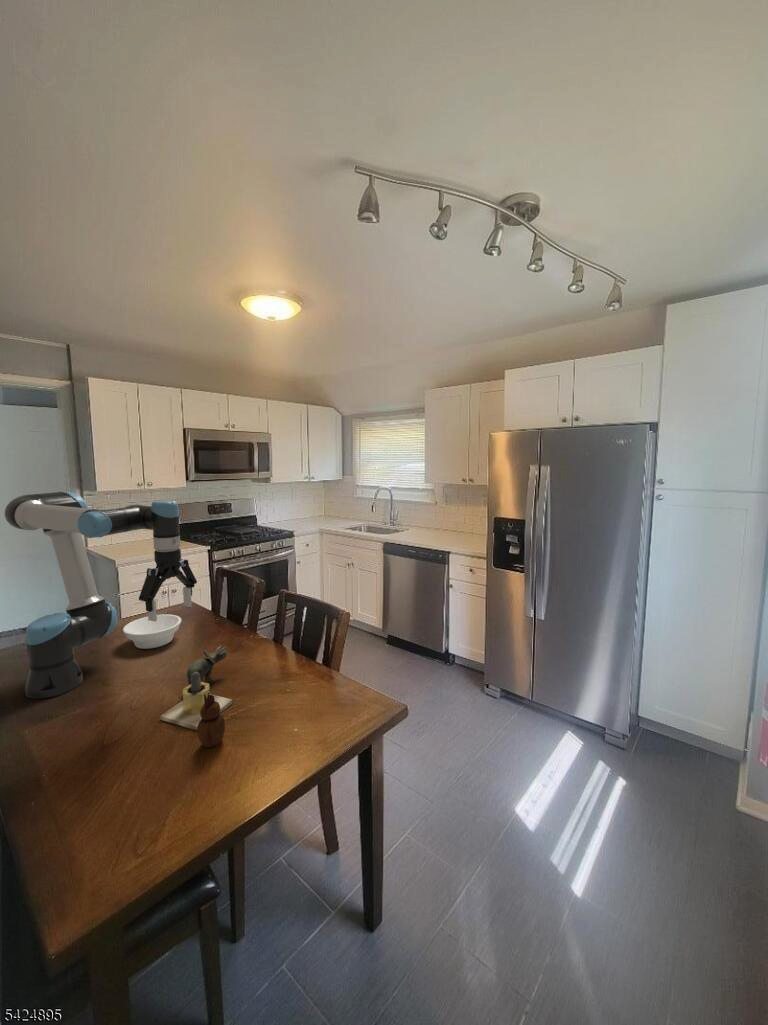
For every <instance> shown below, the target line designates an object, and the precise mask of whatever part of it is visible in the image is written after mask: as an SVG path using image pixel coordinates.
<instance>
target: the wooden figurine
mask: <svg viewBox="0 0 768 1025" xmlns="http://www.w3.org/2000/svg"><path fill="white" fill-rule="evenodd" d="M214 695H215V694H211V693H210V695H209V693H208V696H207V697H206V694H204V705H203V706H202V707H201V710H200V715H201V717H202V719H201V720H200V722H199V724H198V727H197V730H196V733H197V738H198V740H199V742H200V744H201V745H202V746H203V747H204V748H206V749H207V748H213V747H215V746H217V745H219V744H220V743H221V742H222V740H223V738H224V735H225V731H226V720H225V718H224V715H223V714H222V712H221V713H220V705H219V703H218V702H216V701H215V699H214Z"/></svg>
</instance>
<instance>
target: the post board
mask: <svg viewBox="0 0 768 1025" xmlns="http://www.w3.org/2000/svg"><path fill="white" fill-rule="evenodd" d="M191 690H192V694H194V693H198V692H201V680H200V674H199V672H193V673H192V674H191ZM213 695H214V699H215V701H216V702H218V703H219V705H220V713H221V714H222V712H224V711H225V710H226V709H227V708H228V707H230V706H231V705H232V704H234V703H233V699H231V698H227V697H224V696H219V695H216V694H213ZM201 719H202V717H201V715H200V714H196V715H188V714H185V713H184V705H183V700H181V701H180V702H179V703H177V704H175V705H174V706H173V707H171V708H170V709H168V710H167V711H165V712H164V713H162V714H161V715H160V721H164V722H167V723H171V724H175V725H177V726H179V727H180V726H181V727H184V728H186V729H191V730H195V731H197V727H198V724H199V722H200V720H201Z"/></svg>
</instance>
